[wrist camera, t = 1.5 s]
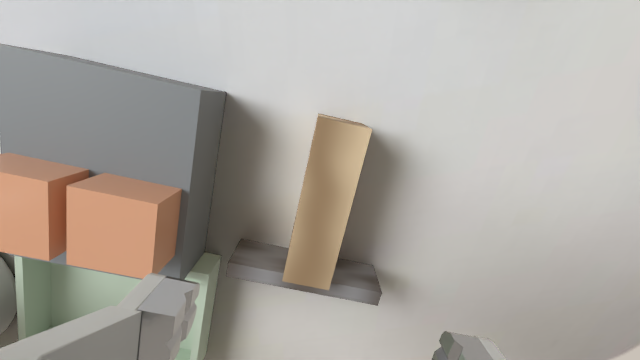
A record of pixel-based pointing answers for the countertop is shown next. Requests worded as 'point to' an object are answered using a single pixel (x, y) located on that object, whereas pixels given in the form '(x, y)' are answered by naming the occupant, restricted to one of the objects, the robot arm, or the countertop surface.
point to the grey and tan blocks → (318, 223)
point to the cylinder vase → (7, 296)
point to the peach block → (121, 225)
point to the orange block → (35, 205)
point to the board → (116, 131)
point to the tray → (100, 297)
